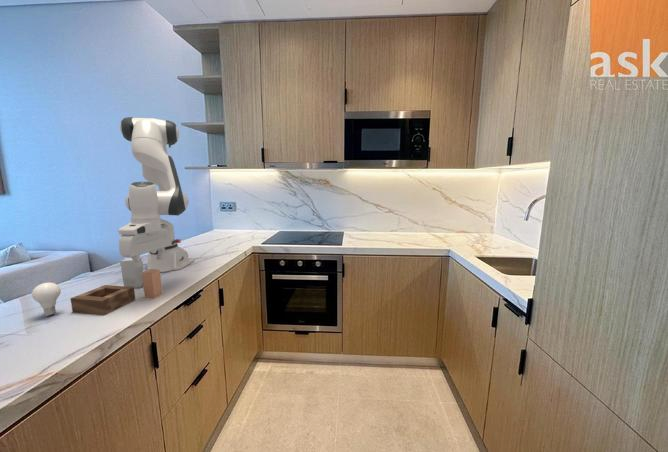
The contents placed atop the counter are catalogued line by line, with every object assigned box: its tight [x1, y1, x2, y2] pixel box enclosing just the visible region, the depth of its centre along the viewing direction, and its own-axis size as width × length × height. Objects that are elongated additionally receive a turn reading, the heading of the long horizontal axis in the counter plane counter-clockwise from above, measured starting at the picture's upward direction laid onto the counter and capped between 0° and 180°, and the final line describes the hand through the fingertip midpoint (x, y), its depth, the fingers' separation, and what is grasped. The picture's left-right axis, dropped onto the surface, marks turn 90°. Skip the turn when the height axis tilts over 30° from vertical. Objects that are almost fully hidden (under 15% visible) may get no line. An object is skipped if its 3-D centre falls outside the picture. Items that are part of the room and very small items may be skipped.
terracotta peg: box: [142, 269, 163, 299], centre depth 103 cm, size 4×4×10 cm
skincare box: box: [119, 257, 144, 289], centre depth 112 cm, size 6×4×12 cm
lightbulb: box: [31, 281, 62, 317], centre depth 87 cm, size 6×6×11 cm
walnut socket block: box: [70, 284, 136, 316], centre depth 95 cm, size 12×12×5 cm
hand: (150, 262), depth 101 cm, fingers open, 8 cm apart
